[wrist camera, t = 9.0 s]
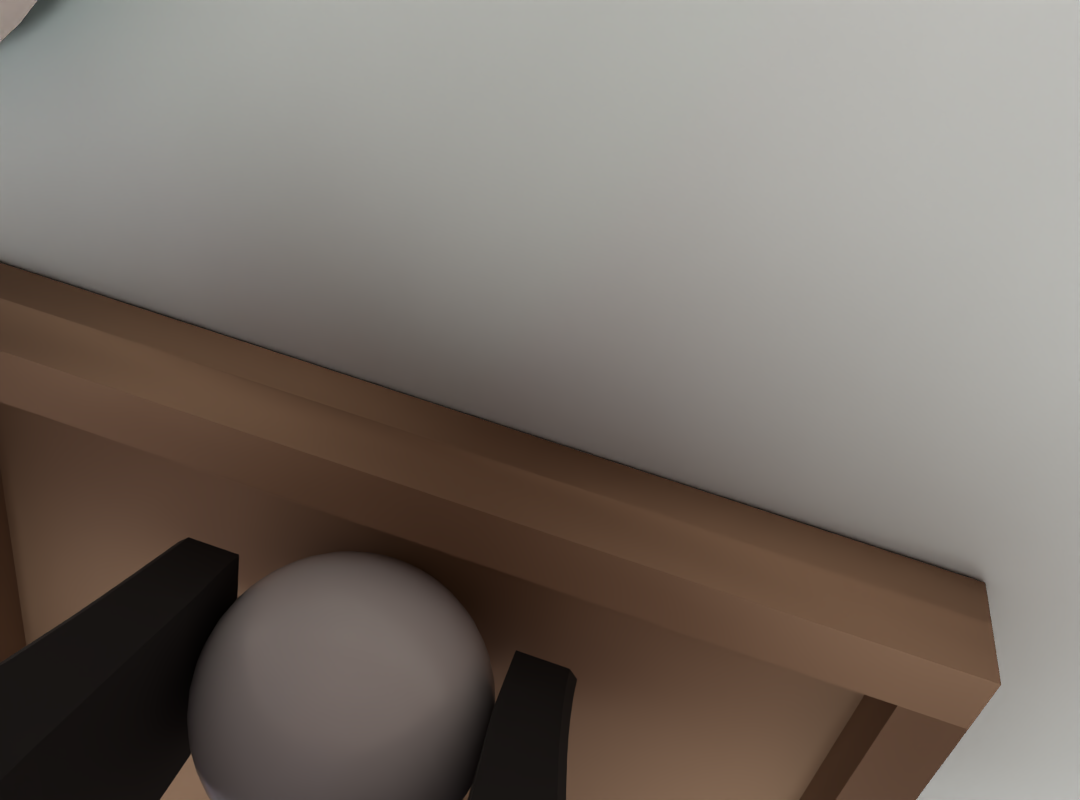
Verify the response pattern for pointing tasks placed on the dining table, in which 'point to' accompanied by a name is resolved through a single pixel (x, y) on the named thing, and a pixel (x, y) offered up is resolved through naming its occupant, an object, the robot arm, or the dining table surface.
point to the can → (13, 14)
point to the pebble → (341, 687)
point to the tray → (484, 555)
